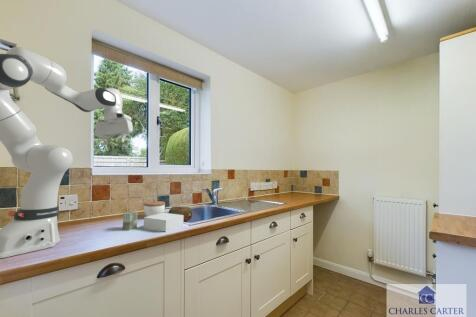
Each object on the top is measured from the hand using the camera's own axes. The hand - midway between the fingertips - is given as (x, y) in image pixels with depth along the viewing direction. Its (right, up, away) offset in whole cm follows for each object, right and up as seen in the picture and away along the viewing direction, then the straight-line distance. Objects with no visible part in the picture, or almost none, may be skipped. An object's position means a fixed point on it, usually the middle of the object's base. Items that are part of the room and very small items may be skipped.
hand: (113, 143), depth 120 cm
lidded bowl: (+14, -45, +21) cm, 52 cm away
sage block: (+12, -44, -7) cm, 46 cm away
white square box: (+27, -45, -2) cm, 52 cm away
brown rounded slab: (+32, -45, +13) cm, 57 cm away
